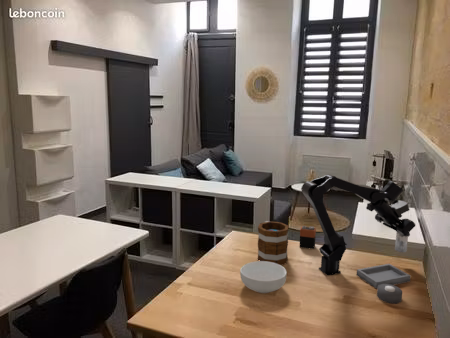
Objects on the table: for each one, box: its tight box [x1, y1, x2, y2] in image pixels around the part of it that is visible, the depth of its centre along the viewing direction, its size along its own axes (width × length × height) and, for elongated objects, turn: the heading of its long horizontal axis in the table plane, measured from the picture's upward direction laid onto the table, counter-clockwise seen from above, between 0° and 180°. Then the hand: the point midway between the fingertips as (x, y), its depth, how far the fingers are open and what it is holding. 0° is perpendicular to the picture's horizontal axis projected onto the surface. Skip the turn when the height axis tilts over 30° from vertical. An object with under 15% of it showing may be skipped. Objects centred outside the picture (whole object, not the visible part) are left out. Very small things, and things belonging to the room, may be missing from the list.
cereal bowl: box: [239, 260, 288, 294], centre depth 136 cm, size 17×17×7 cm
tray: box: [356, 263, 412, 289], centre depth 144 cm, size 16×11×2 cm
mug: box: [257, 220, 289, 266], centre depth 163 cm, size 20×14×15 cm
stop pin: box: [394, 232, 409, 253], centre depth 154 cm, size 4×4×10 cm
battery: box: [299, 225, 317, 250], centre depth 174 cm, size 4×7×10 cm, turn 70°
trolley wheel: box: [376, 284, 403, 304], centre depth 130 cm, size 8×8×4 cm
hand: (405, 233), depth 154 cm, fingers closed on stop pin, 4 cm apart
